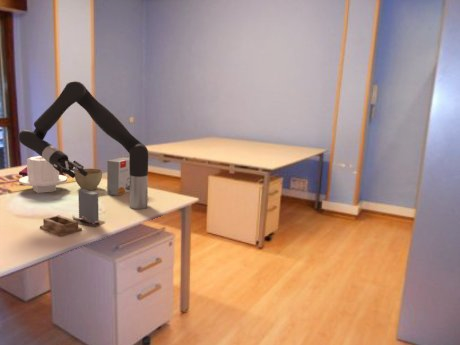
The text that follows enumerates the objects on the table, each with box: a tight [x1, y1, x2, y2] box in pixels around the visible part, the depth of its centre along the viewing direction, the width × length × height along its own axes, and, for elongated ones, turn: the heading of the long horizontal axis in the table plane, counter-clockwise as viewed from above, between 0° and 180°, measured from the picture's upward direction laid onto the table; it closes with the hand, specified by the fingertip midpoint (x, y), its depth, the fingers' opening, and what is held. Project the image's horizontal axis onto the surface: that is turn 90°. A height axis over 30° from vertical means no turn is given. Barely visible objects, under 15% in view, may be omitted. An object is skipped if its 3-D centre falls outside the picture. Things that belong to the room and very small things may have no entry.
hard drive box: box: [106, 156, 130, 197], centre depth 228 cm, size 16×8×20 cm, turn 161°
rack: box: [39, 214, 83, 238], centre depth 167 cm, size 15×10×4 cm, turn 57°
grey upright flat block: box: [77, 189, 99, 223], centre depth 177 cm, size 10×3×14 cm, turn 57°
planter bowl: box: [73, 167, 104, 191], centre depth 233 cm, size 16×16×11 cm
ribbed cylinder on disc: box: [18, 155, 68, 194], centre depth 223 cm, size 25×25×19 cm
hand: (80, 175), depth 178 cm, fingers open, 8 cm apart
